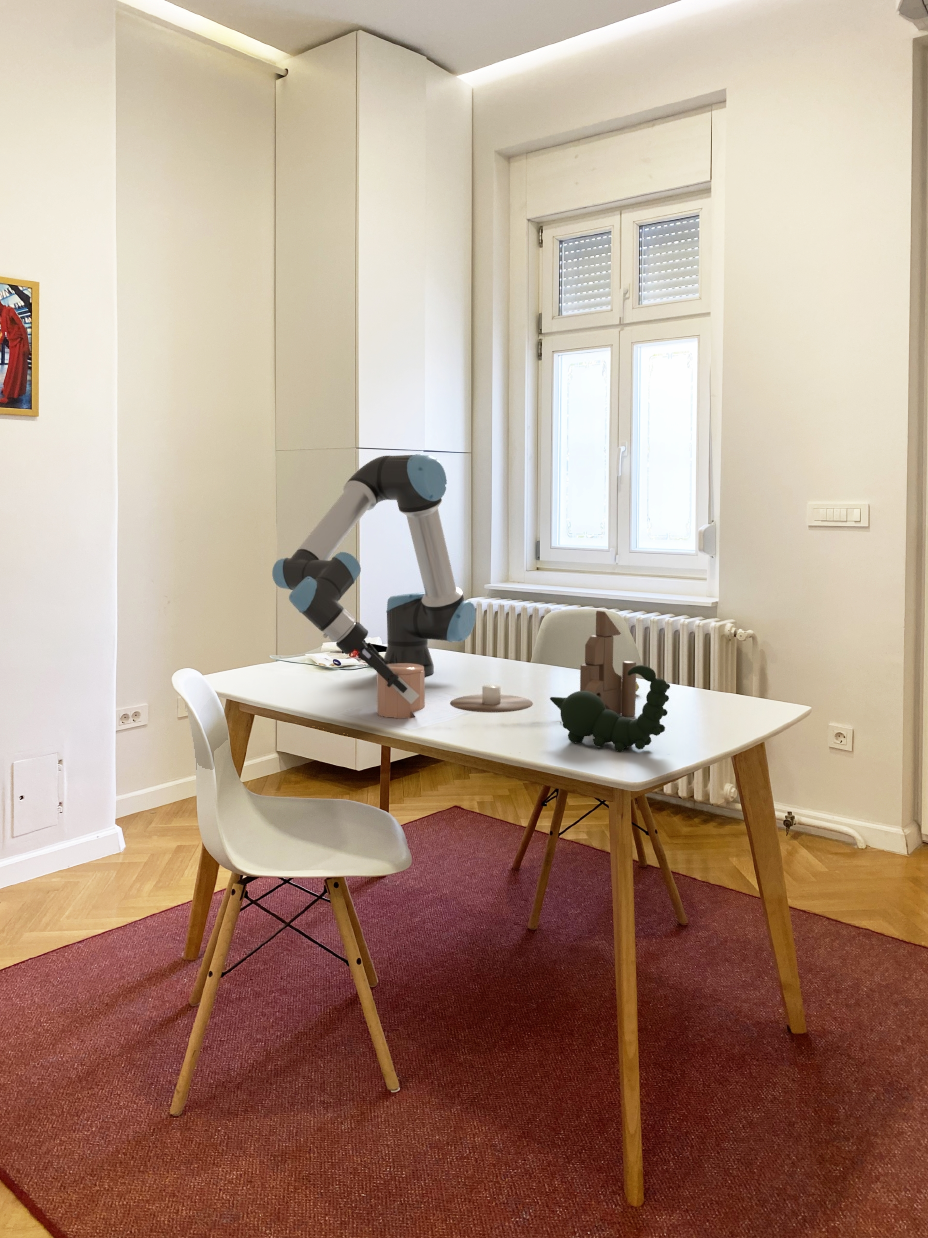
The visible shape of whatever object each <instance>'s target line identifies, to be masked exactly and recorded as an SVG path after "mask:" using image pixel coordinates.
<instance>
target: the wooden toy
mask: <svg viewBox="0 0 928 1238" xmlns="http://www.w3.org/2000/svg"><path fill="white" fill-rule="evenodd" d="M621 634H622V633H621V631H620V630H619V629H618V628H617V626H616V624H614V623H613V621H612V619H611V618H610V617H609V615H608V614H607V613H606V611H605V610H604V611H602V610H596V612H595V635H590V636H589V638H588V640H587V641H586V643H585V645H584V664H581V665H580V667H579V669H580V671H579V672H580V673H579V674H580V677H579V682H580V683H579V691H589V692H592V693H594V694H596V695H597V696H598V697H600V698H601V700H602V701H603V702H604V704H605V707H606V709H609V710H612V711H614V712H616V713H617V714H618V715H619V716H620V715H621V716H622V717H626V718H631V717H635V716H636V699H637V698H636V696H637V695H636V692H637V691H636V682H637V674H632V675H630V676H629V675H628V671H629V670H630V669H631V668H632V667H634V666H637V662H636V661H634V660H624V661H622V663H621V664H622V665H621V666H622V670H621V671H622V672H621V675H620V674H618V673H617V672H616V671H615V668H614V636H620V635H621ZM621 687H622V688H621Z"/></svg>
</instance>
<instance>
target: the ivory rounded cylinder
mask: <svg viewBox="0 0 928 1238" xmlns="http://www.w3.org/2000/svg"><path fill="white" fill-rule="evenodd" d="M481 687H482V688H481V689H482V691H481V692H482V693H481V694H482V703H483V704H486V705H497V704H500V703H501V695H502V694H501V688H502V686H501V685H497V684H483V685H482V686H481Z"/></svg>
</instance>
